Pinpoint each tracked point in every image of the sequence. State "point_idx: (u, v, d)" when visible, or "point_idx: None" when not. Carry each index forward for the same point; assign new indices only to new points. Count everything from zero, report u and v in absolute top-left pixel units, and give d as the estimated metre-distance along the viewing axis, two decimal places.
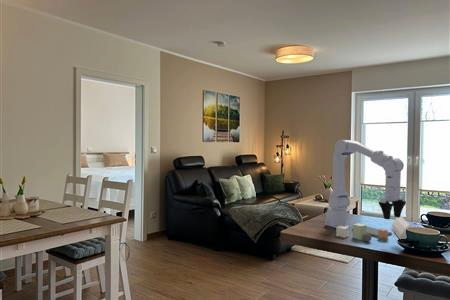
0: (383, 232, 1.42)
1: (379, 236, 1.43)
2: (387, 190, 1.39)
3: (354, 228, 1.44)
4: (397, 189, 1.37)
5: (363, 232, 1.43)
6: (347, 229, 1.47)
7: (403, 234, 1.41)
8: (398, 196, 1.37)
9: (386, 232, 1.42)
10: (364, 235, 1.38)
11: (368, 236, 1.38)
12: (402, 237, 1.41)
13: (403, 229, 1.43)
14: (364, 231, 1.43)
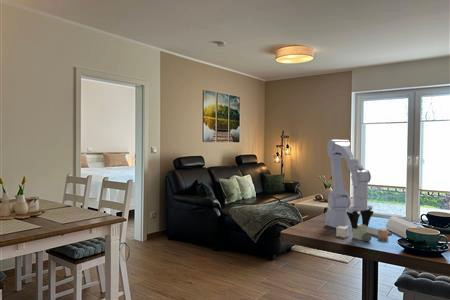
0: (383, 232, 1.42)
1: (379, 236, 1.43)
2: (355, 200, 1.43)
3: None
4: (364, 199, 1.41)
5: (363, 232, 1.43)
6: (347, 229, 1.47)
7: None
8: (365, 206, 1.42)
9: (386, 232, 1.42)
10: (364, 235, 1.38)
11: (368, 236, 1.38)
12: None
13: None
14: (364, 231, 1.43)
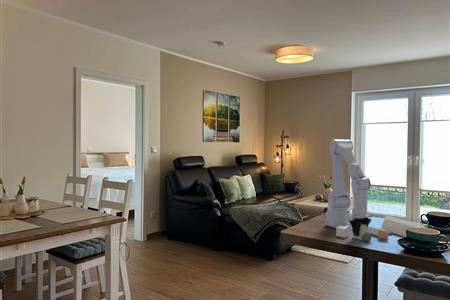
0: (383, 232, 1.42)
1: (379, 236, 1.43)
2: (354, 208, 1.43)
3: None
4: (364, 207, 1.41)
5: (363, 232, 1.43)
6: (347, 229, 1.47)
7: None
8: (365, 214, 1.42)
9: (386, 232, 1.42)
10: (364, 235, 1.38)
11: (368, 236, 1.38)
12: None
13: None
14: (364, 231, 1.43)
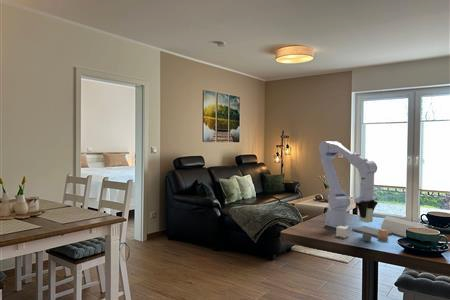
0: (383, 232, 1.42)
1: (379, 236, 1.43)
2: (361, 191, 1.48)
3: None
4: (370, 190, 1.46)
5: (369, 215, 1.47)
6: (347, 229, 1.47)
7: None
8: (371, 196, 1.46)
9: (386, 232, 1.42)
10: (364, 235, 1.38)
11: (368, 236, 1.38)
12: None
13: None
14: (370, 214, 1.48)
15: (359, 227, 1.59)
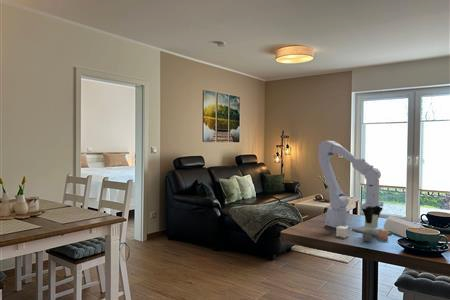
0: (383, 232, 1.42)
1: (379, 236, 1.43)
2: (367, 197, 1.53)
3: None
4: (376, 196, 1.51)
5: (375, 221, 1.52)
6: (347, 229, 1.47)
7: None
8: (377, 202, 1.51)
9: (386, 232, 1.42)
10: (364, 235, 1.38)
11: (368, 236, 1.38)
12: None
13: None
14: (375, 220, 1.52)
15: (359, 227, 1.59)
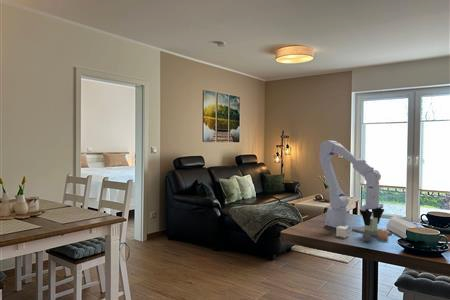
0: (383, 232, 1.42)
1: (379, 236, 1.43)
2: (367, 199, 1.53)
3: None
4: (376, 198, 1.51)
5: (374, 224, 1.52)
6: (347, 229, 1.47)
7: None
8: (377, 204, 1.51)
9: (386, 232, 1.42)
10: (364, 235, 1.38)
11: (368, 236, 1.38)
12: None
13: None
14: (375, 224, 1.53)
15: (359, 227, 1.59)
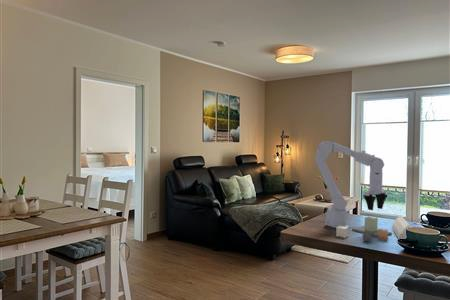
0: (383, 232, 1.42)
1: (379, 236, 1.43)
2: (371, 185, 1.59)
3: (366, 221, 1.54)
4: (379, 184, 1.57)
5: (374, 224, 1.52)
6: (347, 229, 1.47)
7: (402, 234, 1.41)
8: (380, 190, 1.57)
9: (386, 232, 1.42)
10: (364, 235, 1.38)
11: (368, 236, 1.38)
12: (401, 237, 1.41)
13: (402, 229, 1.43)
14: (375, 224, 1.53)
15: (359, 227, 1.59)
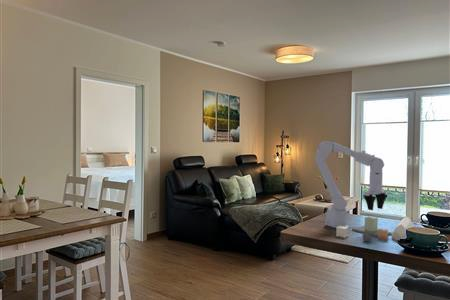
0: (383, 232, 1.42)
1: (379, 236, 1.43)
2: (371, 185, 1.59)
3: (366, 221, 1.54)
4: (379, 184, 1.57)
5: (374, 224, 1.52)
6: (347, 229, 1.47)
7: (394, 232, 1.43)
8: (380, 190, 1.57)
9: (386, 232, 1.42)
10: (364, 235, 1.38)
11: (368, 236, 1.38)
12: (393, 235, 1.44)
13: None
14: (375, 224, 1.53)
15: (359, 227, 1.59)
